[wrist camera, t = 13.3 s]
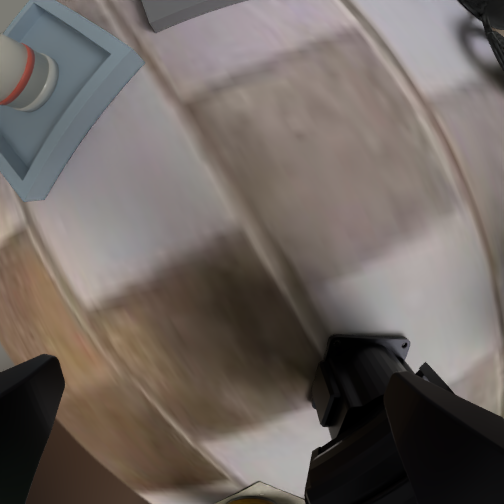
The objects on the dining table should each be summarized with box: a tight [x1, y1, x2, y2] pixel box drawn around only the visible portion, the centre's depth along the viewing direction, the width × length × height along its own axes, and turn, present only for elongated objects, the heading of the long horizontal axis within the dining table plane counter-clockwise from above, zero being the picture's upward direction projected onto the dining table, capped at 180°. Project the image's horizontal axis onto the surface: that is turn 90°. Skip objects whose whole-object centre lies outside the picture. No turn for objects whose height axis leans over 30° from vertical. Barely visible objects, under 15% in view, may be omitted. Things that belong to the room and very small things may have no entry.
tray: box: [0, 0, 145, 202], centre depth 15 cm, size 14×12×2 cm
